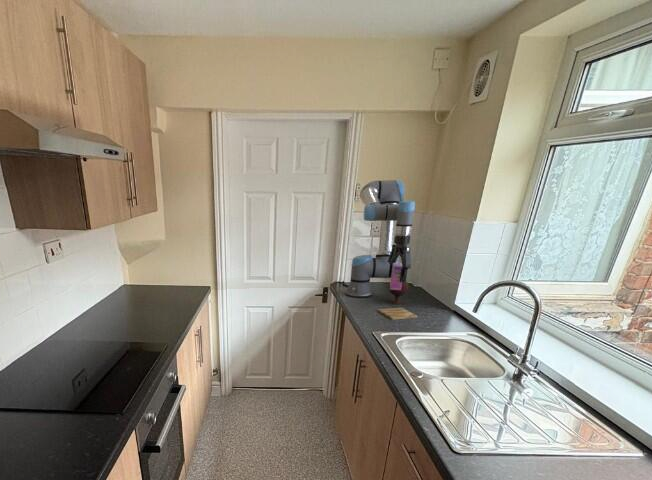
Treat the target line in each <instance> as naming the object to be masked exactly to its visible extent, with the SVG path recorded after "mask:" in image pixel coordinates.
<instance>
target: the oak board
mask: <svg viewBox="0 0 652 480" xmlns="http://www.w3.org/2000/svg"><path fill="white" fill-rule="evenodd" d="M377 312H379V313H380V314H382V315H384V316H385V317H387V318H389V319H390V320H392V321H394V320H407V319H408V320H409V319H418V317H419V316H418V315H417V314H414V313H413V312H411V311H409V310H407V309H405V308H404V307H392V308H379V309H377Z"/></svg>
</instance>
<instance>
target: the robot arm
mask: <svg viewBox="0 0 652 480" xmlns="http://www.w3.org/2000/svg"><path fill="white" fill-rule="evenodd" d="M359 198H360V201H361V203H362V204H364V208H363V215H362V216H363V220H364V221H366V222H367V221H369V222H380V228H379V240H378V241H379V242H378V252H377V253H376V254H375V257H373V255H372V254H361V255H356V256H354V257H353V258H352V261H351V265H350V266H351V268H350V269H351V271H350V279H349V280H350V281H349V284H346V283H345V281H344V280H342V283H341V284H342V285H343V286H345V287H347V288H346V293H345V294H346V296H348V297H352V298H369V297H371V296H372V294H373V293H372V292H373V291H372V286H371V279H391V275H392V267H393V263H400V262H399V260H400V259H401V260H400V261H401V263H402V266H403V268H402V271H401V278H400V282H407V276H408V270H409V269H411V267H412V262H411V261H412V260H411V247H410V246H408V245H409V244H410V242H411V235H412V229H413V222H414V215H415V211H416V202H415V201H413V200H405V185H404V182H403V181H402V180H395V179H393V180H372V181H369V182H368V183H366V184H365V185H364V186H363V187H362V188H361V190H360V193H359ZM399 257H400V259H399Z"/></svg>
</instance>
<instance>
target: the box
mask: <svg viewBox="0 0 652 480" xmlns="http://www.w3.org/2000/svg"><path fill="white" fill-rule="evenodd" d="M402 268H403V266H402V262H399V263H393V267H392V275H391V278H390V282H389V285H390V290H401V286H402V282H400V278H401V271H402Z"/></svg>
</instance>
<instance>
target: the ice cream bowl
mask: <svg viewBox="0 0 652 480" xmlns="http://www.w3.org/2000/svg"><path fill="white" fill-rule="evenodd" d="M409 288H410V286H409V283H408V282H407V281H406V282H402V286H401V290H390V284H389V285H388V291H389V293H390V294H392V295H393V296H394V297H395V299H394V300H392V301H391V304H393V305H402V301H401V300H399V299H400V297H401V296H403V295H405V294H406V293H407V292H408V290H409Z"/></svg>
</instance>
